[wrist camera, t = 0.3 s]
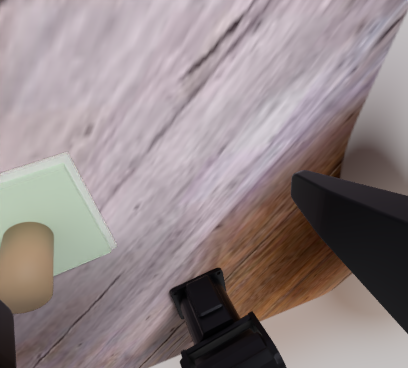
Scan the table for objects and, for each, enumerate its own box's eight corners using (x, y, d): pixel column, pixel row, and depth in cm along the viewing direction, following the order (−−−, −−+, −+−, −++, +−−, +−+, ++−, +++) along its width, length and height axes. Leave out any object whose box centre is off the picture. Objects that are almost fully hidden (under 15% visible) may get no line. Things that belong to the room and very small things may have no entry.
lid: (109, 245, 25) (121, 301, 21) (1, 290, 23) (-12, 361, 19) (63, 162, 19) (65, 214, 15) (-86, 211, 17) (-134, 287, 13)
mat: (116, 244, 26) (117, 247, 25) (-1, 292, 23) (-2, 296, 23) (67, 151, 20) (67, 154, 19) (-99, 204, 17) (-102, 208, 17)
